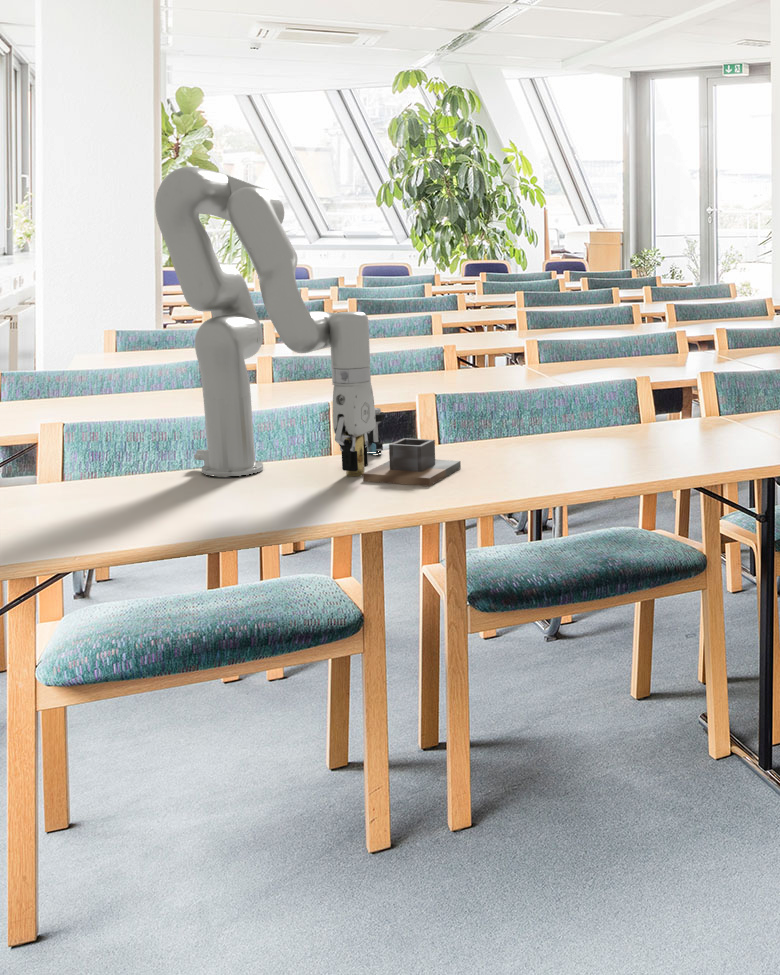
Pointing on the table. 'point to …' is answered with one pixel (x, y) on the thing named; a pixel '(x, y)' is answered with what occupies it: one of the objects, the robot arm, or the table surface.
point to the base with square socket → (412, 464)
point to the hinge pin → (358, 456)
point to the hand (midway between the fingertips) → (355, 467)
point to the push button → (375, 435)
